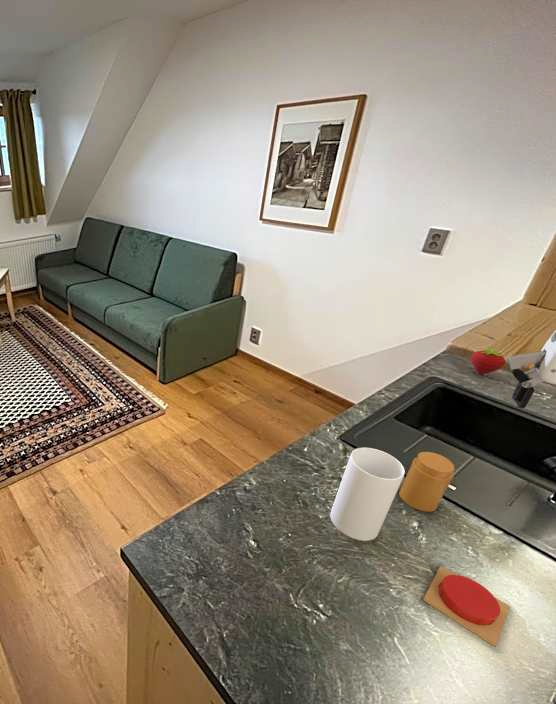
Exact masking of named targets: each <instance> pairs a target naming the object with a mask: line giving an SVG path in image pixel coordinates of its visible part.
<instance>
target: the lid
mask: <svg viewBox="0 0 556 704" xmlns="http://www.w3.org/2000/svg"><path fill="white" fill-rule="evenodd" d="M438 587H439V595H440V597H441V599H442V601H443V602H444V604H445V605H446V606H447V607H448V608H449V609H450V610H451V611H452V612H454V613H455V614H456V615H458V616H459V617H461V618H462V619H464V620H466V621H468V622H471V623H474V624H477V625H491V624H492V623H493V622H494V621H495V620H496V619H497V617H498V616H499V615H500V606H499V603H498V601H497V600H496V598H497V597H496V596H494V594H493V593H491V591H489V589H488V588H486V587H485V586H483V585H482V584H481V583H479V582H478V581H475V580H473V579H472V578H470V577H467V576H464V575H460V574H456V575H448V576H446V577H445V578H444V579H443V581H442V582H441V583H440V585H439V586H438Z"/></svg>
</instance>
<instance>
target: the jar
mask: <svg viewBox="0 0 556 704" xmlns="http://www.w3.org/2000/svg"><path fill="white" fill-rule="evenodd" d="M455 470H456V469H455V465H454V464H453V462H452V461H451V460H450V459H449V458H447V457H445V456H443V455H442V454H440V453H435V452H431V451H421V452H419V453H418V454H417V457H415V458H413V459H412V462H411V465H410V467H409V468H408V471H407V473H406V476H405V478H404V479H403V482H402V483H401V486H400V488H399V491H398V494H399V497H400V499H401V500H402V502H404V503H405V504H406V505H407V506H409V507H411V508H413V509H415V510H418V511H420V512H427V513H429V512H434V511H436V510H438V509H437V508H438V507H439V505H440V503H441V501H442V499H443V497H444V495H446V491H447V490H448V488H449V486H450V484H451V482H452V480H453V478H454V476H455V474H454V472H455Z"/></svg>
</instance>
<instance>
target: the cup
mask: <svg viewBox="0 0 556 704" xmlns="http://www.w3.org/2000/svg"><path fill="white" fill-rule="evenodd" d="M405 473H406V472H405V467H404V466H403V464H402V463H401V462H400V461H399V460H398V459H397V458H396V457H395V456H392V455H391V454H389V453H387V452H386V451H383V450H379V449H377V448H372V447H357V448H355V449H353V450H352V451H351V453H350V455H349V458H348V460H347V463H346V466H345V469H344V472H343V475H342V478H341V481H340V484H339V487H338V489H337V493H336V496H335V498H334V501H333V504H332V507H331V510H330V514H329V518H330V521H331V522H332V525H334V527H335V528H336V529H337V530H338V531H339V532H341V533H342V534H343V535H345V536H347V537H349V538H351V539H353V540H357V541H364V542H368V541H369V542H370V541H373V540H374V539H376V538H377V537H378V535H379V534H380V531H381V529H382V526H383V524H384V522H385V519H386V517H387V515H388V513H389V511H390V509H391V506H392V503H393V502H394V499H395V497H396V496H397V495H396V494H397V492H398V490H399V489H400V487H401V486H400V485H402V481H403V480H404V476H405Z"/></svg>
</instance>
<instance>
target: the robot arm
mask: <svg viewBox="0 0 556 704" xmlns="http://www.w3.org/2000/svg"><path fill="white" fill-rule="evenodd" d="M506 359H507V360H506V361H507V363H508V368H509V371H510V372H511V374H512V376H513V377H514V378H515V380H517V381H518V383H517V385H516V387H515V389H514V391H513V393H512V395H511V398H512V400H513V401H514V402H515V404H516V406H517V408H519V409H526V408H527V406H528V404H529V402H530V400H531V398H532V397H533V395H534V393H535V388H534V386H537V385H540V384H543V383H547V384H550V385H555V386H556V330H554V332H553V333H552V334H551V335H550V337H549V338H548V339H547V341H546V342H545V344H543V347H542V348H541V350H540V351H535V352H534V351H533V352H527V353H522V354H515V355H510V356H508V357H507V358H506ZM526 364H533V368H532V369H530V370H527V371H523V369H522V366H524V365H526Z"/></svg>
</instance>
